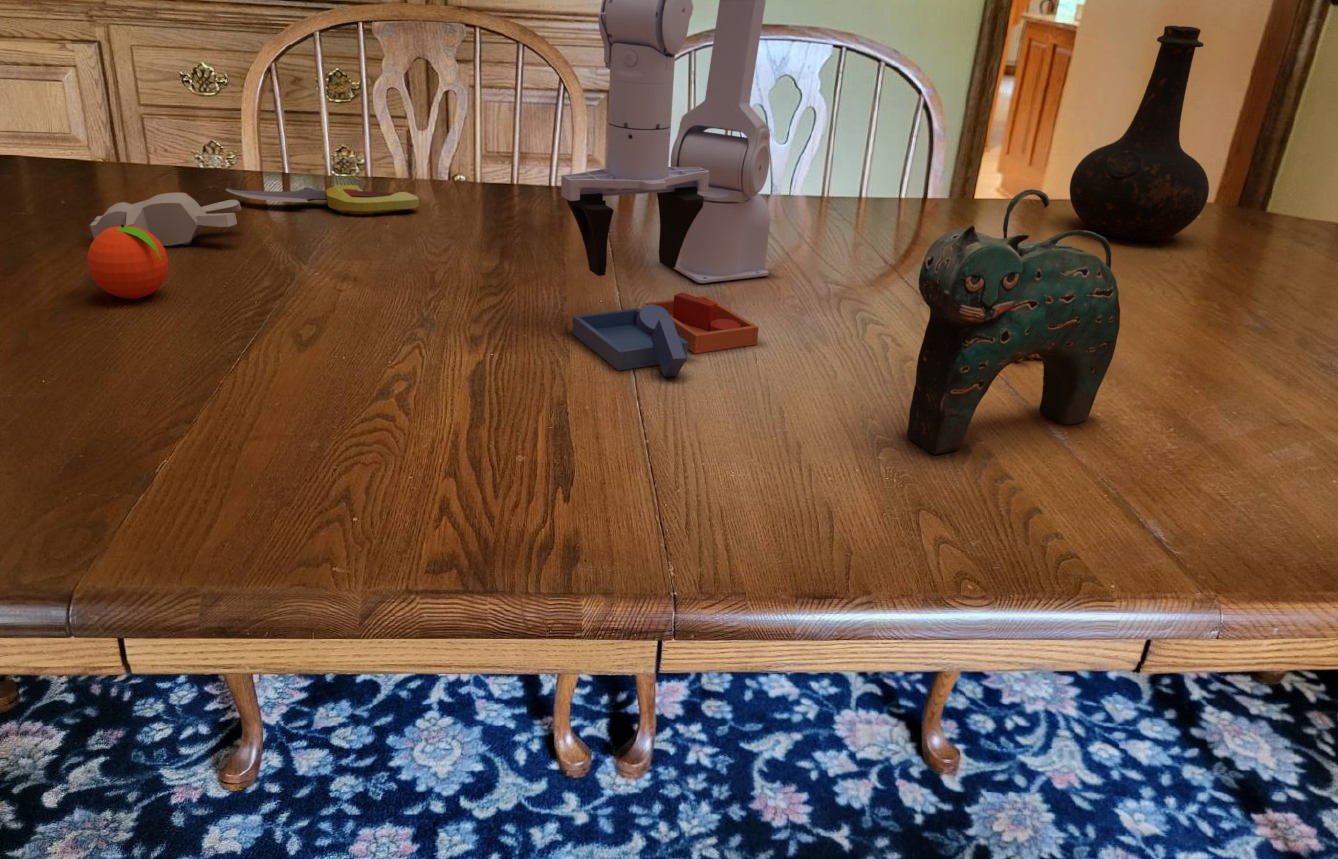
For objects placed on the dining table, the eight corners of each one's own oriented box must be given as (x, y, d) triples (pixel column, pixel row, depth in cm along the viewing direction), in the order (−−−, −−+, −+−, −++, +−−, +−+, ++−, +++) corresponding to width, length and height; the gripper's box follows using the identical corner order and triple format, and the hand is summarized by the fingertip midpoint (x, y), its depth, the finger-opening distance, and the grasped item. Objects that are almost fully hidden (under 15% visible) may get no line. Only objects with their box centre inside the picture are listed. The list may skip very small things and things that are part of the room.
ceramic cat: (925, 466, 80) (975, 203, 71) (873, 431, 85) (913, 182, 76) (1109, 427, 88) (1173, 189, 80) (1052, 397, 94) (1106, 171, 85)
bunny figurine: (97, 195, 119) (236, 180, 122) (110, 239, 121) (247, 223, 125) (79, 217, 111) (229, 200, 114) (94, 264, 113) (240, 246, 117)
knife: (211, 209, 132) (412, 219, 133) (208, 188, 131) (412, 199, 132) (231, 195, 139) (423, 204, 140) (229, 175, 138) (422, 185, 139)
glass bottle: (1038, 227, 151) (1083, 18, 139) (1098, 212, 162) (1145, 18, 150) (1159, 258, 139) (1220, 34, 127) (1214, 240, 150) (1276, 32, 138)
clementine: (197, 296, 103) (187, 224, 100) (138, 315, 98) (125, 240, 94) (138, 281, 106) (126, 211, 103) (77, 299, 100) (63, 226, 97)
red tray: (704, 311, 109) (706, 295, 108) (757, 344, 101) (758, 326, 100) (644, 319, 105) (645, 302, 105) (694, 353, 98) (695, 335, 97)
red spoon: (746, 333, 102) (748, 308, 101) (728, 341, 100) (730, 315, 99) (684, 314, 106) (686, 290, 105) (666, 321, 104) (668, 296, 103)
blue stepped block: (632, 311, 95) (640, 292, 93) (662, 310, 96) (671, 292, 94) (655, 377, 92) (664, 359, 90) (686, 375, 93) (695, 357, 91)
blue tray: (637, 325, 104) (638, 307, 103) (686, 360, 96) (688, 342, 95) (572, 333, 100) (572, 316, 100) (618, 370, 93) (619, 351, 92)
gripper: (586, 135, 89) (582, 289, 95) (730, 129, 96) (718, 273, 102) (552, 120, 94) (550, 266, 100) (691, 115, 101) (682, 253, 107)
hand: (632, 268), depth 101 cm, fingers open, 7 cm apart
